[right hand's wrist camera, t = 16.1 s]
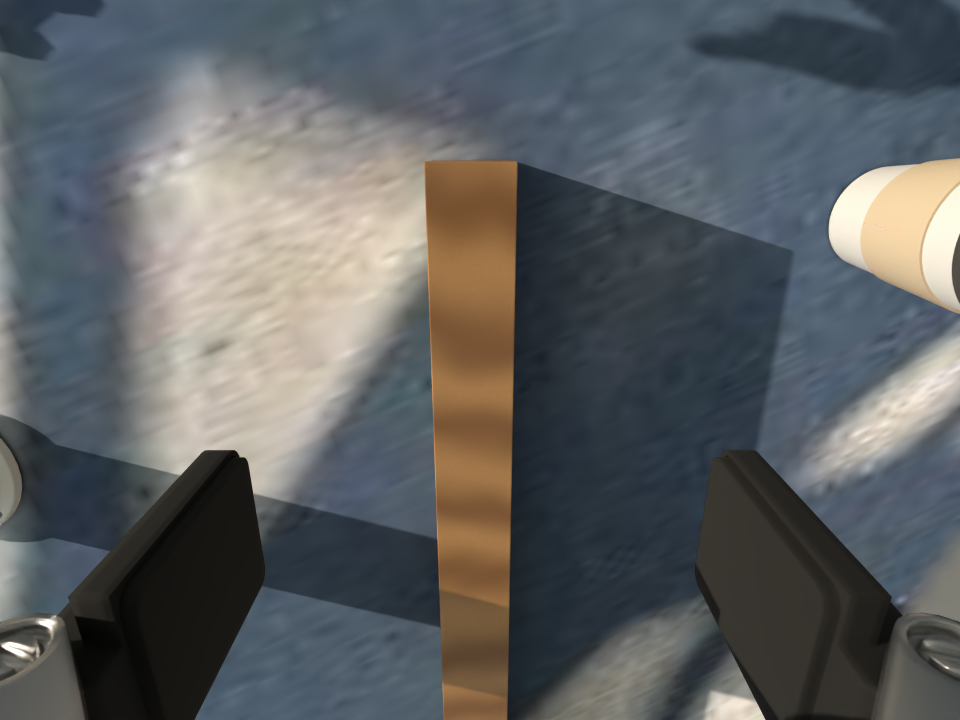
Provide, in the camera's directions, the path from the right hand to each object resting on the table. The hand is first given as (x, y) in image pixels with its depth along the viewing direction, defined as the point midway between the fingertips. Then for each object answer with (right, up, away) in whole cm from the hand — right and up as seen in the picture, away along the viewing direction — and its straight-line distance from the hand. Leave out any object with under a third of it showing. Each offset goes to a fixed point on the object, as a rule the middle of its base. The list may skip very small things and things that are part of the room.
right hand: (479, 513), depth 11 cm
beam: (0, -19, +40) cm, 44 cm away
